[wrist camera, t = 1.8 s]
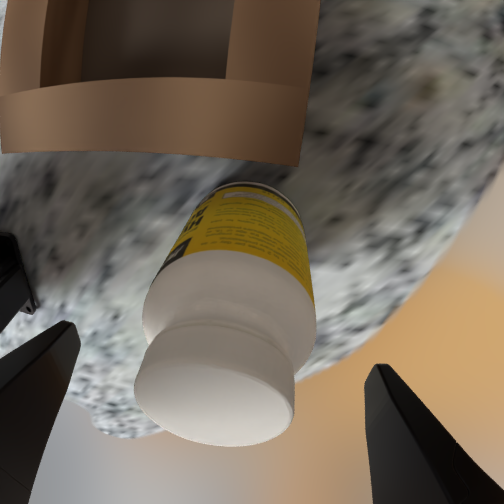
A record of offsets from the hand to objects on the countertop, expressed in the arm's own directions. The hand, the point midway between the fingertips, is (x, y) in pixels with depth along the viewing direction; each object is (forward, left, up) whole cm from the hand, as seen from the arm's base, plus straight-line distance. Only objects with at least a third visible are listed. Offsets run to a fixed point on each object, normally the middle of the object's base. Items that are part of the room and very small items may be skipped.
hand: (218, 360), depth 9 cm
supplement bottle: (0, 0, -8) cm, 8 cm away
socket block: (-4, +11, -8) cm, 14 cm away
